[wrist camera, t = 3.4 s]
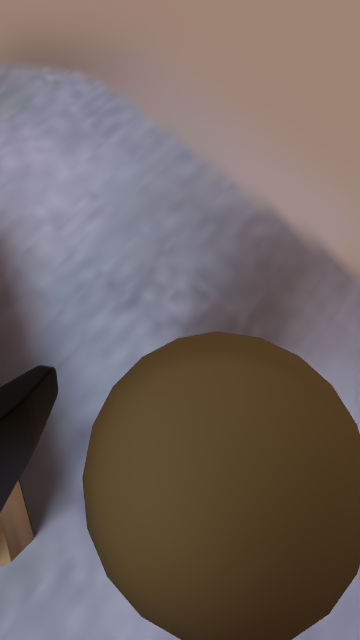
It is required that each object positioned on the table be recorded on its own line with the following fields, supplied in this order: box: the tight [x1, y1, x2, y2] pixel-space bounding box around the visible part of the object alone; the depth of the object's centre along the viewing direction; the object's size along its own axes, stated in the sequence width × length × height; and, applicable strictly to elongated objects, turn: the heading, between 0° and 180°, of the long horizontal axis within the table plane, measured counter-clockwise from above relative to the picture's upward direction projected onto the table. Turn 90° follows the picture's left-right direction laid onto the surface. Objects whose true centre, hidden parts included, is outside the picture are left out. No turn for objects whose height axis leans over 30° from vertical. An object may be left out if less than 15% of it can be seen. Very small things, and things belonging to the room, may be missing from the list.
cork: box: [83, 332, 360, 640], centre depth 10 cm, size 6×6×11 cm
